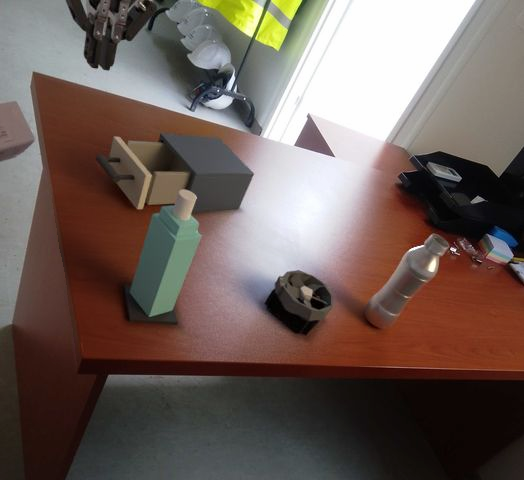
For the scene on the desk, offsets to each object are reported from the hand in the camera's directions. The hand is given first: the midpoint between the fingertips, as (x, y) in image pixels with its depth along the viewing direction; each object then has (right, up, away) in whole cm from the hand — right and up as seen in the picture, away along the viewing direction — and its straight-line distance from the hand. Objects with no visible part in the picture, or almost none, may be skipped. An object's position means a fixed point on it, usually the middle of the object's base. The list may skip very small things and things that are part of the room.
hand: (98, 66), depth 64 cm
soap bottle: (+7, -33, +4) cm, 33 cm away
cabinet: (+9, -7, +31) cm, 33 cm away
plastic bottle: (+45, -34, +27) cm, 63 cm away
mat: (+6, -33, +4) cm, 34 cm away
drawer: (+1, -10, +22) cm, 24 cm away
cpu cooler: (+29, -33, +18) cm, 47 cm away
